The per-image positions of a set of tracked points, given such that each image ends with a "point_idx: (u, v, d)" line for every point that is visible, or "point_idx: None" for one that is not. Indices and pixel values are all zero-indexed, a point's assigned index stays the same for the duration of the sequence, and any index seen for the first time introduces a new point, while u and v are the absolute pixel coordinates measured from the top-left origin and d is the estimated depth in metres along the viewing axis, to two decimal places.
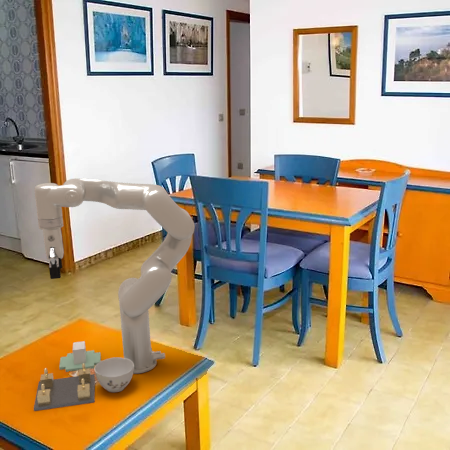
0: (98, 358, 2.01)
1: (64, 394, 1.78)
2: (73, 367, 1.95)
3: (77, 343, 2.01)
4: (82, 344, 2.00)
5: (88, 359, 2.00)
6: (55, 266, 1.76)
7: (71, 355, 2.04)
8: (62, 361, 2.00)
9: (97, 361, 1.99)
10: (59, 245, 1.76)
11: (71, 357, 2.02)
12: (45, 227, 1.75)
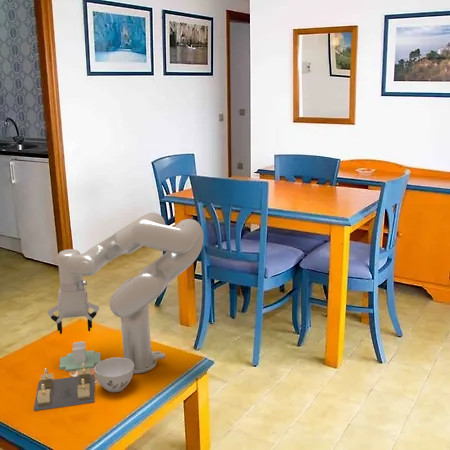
0: (98, 358, 2.01)
1: (64, 394, 1.78)
2: (73, 367, 1.95)
3: (77, 343, 2.01)
4: (82, 344, 2.00)
5: (88, 359, 2.00)
6: None
7: (71, 355, 2.04)
8: (62, 361, 2.00)
9: (97, 361, 1.99)
10: None
11: (71, 357, 2.02)
12: (82, 287, 1.93)
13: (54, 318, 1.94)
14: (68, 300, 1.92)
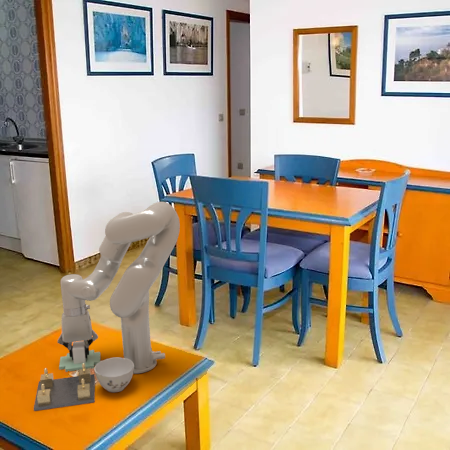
0: (98, 358, 2.01)
1: (64, 394, 1.78)
2: (73, 367, 1.95)
3: (77, 343, 2.01)
4: (82, 343, 2.00)
5: (88, 359, 2.00)
6: None
7: None
8: (62, 361, 2.00)
9: (97, 361, 1.99)
10: None
11: (71, 357, 2.02)
12: (85, 312, 1.95)
13: (66, 345, 1.97)
14: (71, 324, 1.94)
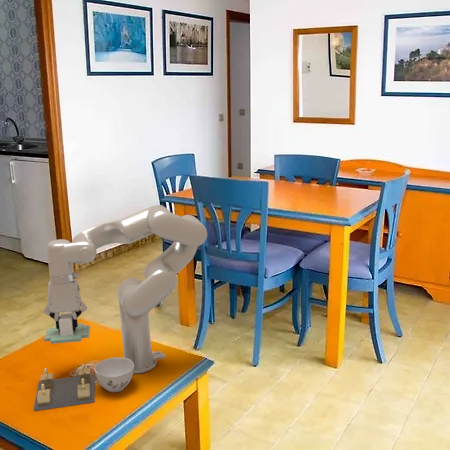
0: (87, 331, 1.87)
1: (64, 394, 1.78)
2: (59, 339, 1.82)
3: (65, 314, 1.87)
4: (70, 315, 1.87)
5: (76, 332, 1.86)
6: None
7: None
8: (48, 332, 1.86)
9: (85, 334, 1.85)
10: None
11: None
12: (73, 280, 1.81)
13: (52, 315, 1.84)
14: (58, 293, 1.81)
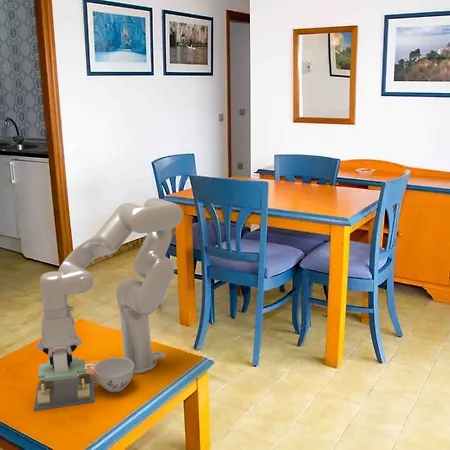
0: (82, 366, 1.79)
1: (64, 394, 1.78)
2: (53, 376, 1.73)
3: (59, 349, 1.79)
4: (64, 349, 1.78)
5: (71, 367, 1.78)
6: None
7: None
8: (41, 369, 1.78)
9: (81, 369, 1.77)
10: None
11: None
12: (67, 314, 1.73)
13: (46, 351, 1.75)
14: (52, 328, 1.72)
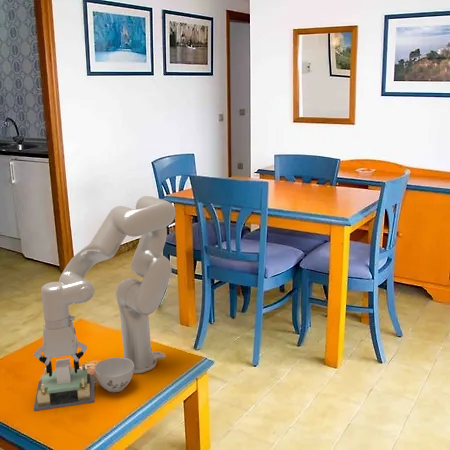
0: (84, 377, 1.80)
1: (64, 394, 1.78)
2: (56, 388, 1.75)
3: (61, 360, 1.80)
4: (66, 361, 1.80)
5: (74, 379, 1.80)
6: None
7: (54, 374, 1.83)
8: (44, 381, 1.79)
9: None
10: None
11: (54, 376, 1.82)
12: (69, 324, 1.74)
13: (43, 360, 1.76)
14: (54, 338, 1.73)
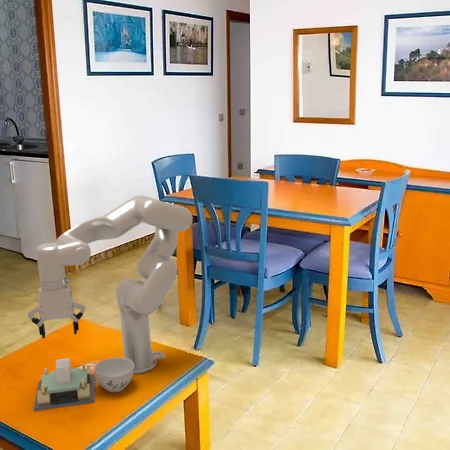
0: (84, 377, 1.80)
1: (64, 394, 1.78)
2: (56, 388, 1.75)
3: (61, 360, 1.80)
4: (66, 361, 1.80)
5: (74, 379, 1.80)
6: None
7: (54, 374, 1.83)
8: (44, 381, 1.79)
9: None
10: None
11: (54, 376, 1.82)
12: (65, 285, 1.71)
13: (35, 321, 1.73)
14: (50, 300, 1.70)
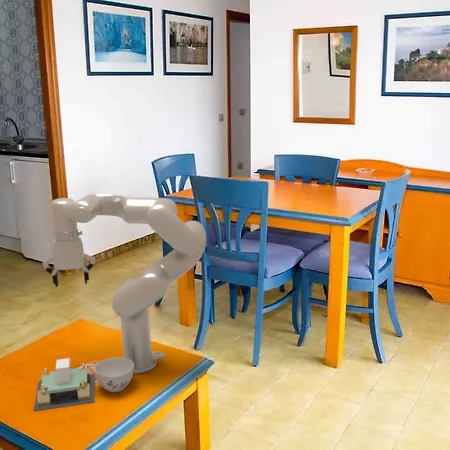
0: (84, 377, 1.80)
1: (64, 394, 1.78)
2: (56, 388, 1.75)
3: (61, 360, 1.80)
4: (66, 361, 1.80)
5: (74, 379, 1.80)
6: None
7: (54, 374, 1.83)
8: (44, 381, 1.79)
9: None
10: None
11: (54, 376, 1.82)
12: (77, 237, 1.86)
13: (49, 270, 1.88)
14: (63, 250, 1.85)
